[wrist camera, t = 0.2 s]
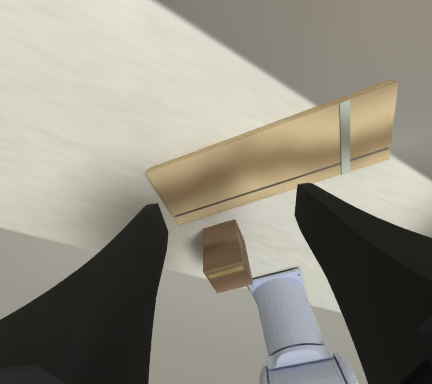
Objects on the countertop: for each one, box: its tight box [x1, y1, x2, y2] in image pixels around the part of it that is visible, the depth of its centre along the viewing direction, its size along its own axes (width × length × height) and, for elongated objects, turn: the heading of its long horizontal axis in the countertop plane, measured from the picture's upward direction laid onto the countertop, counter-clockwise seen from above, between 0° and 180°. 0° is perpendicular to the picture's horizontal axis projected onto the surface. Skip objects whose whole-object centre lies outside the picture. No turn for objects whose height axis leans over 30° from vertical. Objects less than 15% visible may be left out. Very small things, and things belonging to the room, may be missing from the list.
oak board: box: [146, 80, 398, 225], centre depth 20 cm, size 7×22×1 cm, turn 110°
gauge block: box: [203, 219, 253, 293], centre depth 23 cm, size 4×4×6 cm
